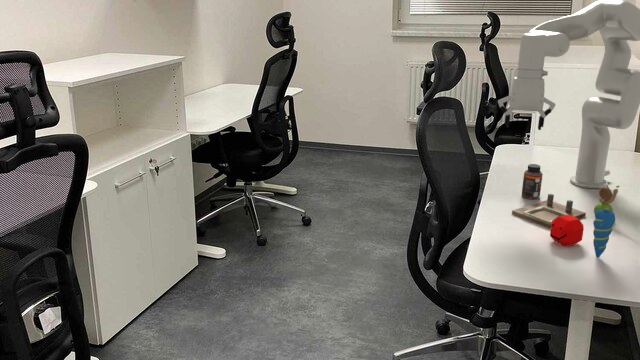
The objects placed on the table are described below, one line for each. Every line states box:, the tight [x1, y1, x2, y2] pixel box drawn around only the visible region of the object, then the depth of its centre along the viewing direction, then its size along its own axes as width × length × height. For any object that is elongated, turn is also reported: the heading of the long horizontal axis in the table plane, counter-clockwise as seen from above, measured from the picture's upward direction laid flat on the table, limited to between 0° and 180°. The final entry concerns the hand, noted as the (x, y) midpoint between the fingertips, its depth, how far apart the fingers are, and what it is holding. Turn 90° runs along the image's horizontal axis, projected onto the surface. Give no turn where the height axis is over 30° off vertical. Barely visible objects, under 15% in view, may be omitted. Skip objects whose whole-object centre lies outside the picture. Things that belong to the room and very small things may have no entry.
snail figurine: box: [593, 185, 620, 215], centre depth 190 cm, size 5×6×12 cm
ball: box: [549, 214, 585, 247], centre depth 173 cm, size 8×8×8 cm
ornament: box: [592, 207, 616, 259], centre depth 163 cm, size 5×5×15 cm
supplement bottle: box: [521, 163, 543, 200], centre depth 209 cm, size 6×6×11 cm
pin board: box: [511, 193, 587, 229], centre depth 194 cm, size 18×14×5 cm
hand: (523, 128), depth 196 cm, fingers open, 9 cm apart
